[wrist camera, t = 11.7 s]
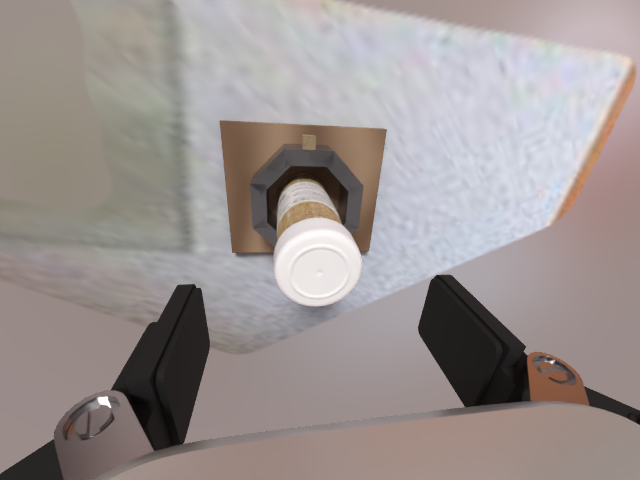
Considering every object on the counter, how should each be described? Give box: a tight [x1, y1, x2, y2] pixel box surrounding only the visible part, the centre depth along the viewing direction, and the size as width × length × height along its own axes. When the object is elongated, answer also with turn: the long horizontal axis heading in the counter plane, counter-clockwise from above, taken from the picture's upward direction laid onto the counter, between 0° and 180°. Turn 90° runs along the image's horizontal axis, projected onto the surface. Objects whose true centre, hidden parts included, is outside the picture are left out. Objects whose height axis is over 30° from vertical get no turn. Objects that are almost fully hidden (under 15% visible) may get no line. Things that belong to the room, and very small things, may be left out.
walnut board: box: [220, 121, 387, 253], centre depth 26 cm, size 14×12×1 cm
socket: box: [250, 134, 364, 247], centre depth 24 cm, size 9×11×4 cm
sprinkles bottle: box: [274, 173, 362, 307], centre depth 20 cm, size 5×5×13 cm
